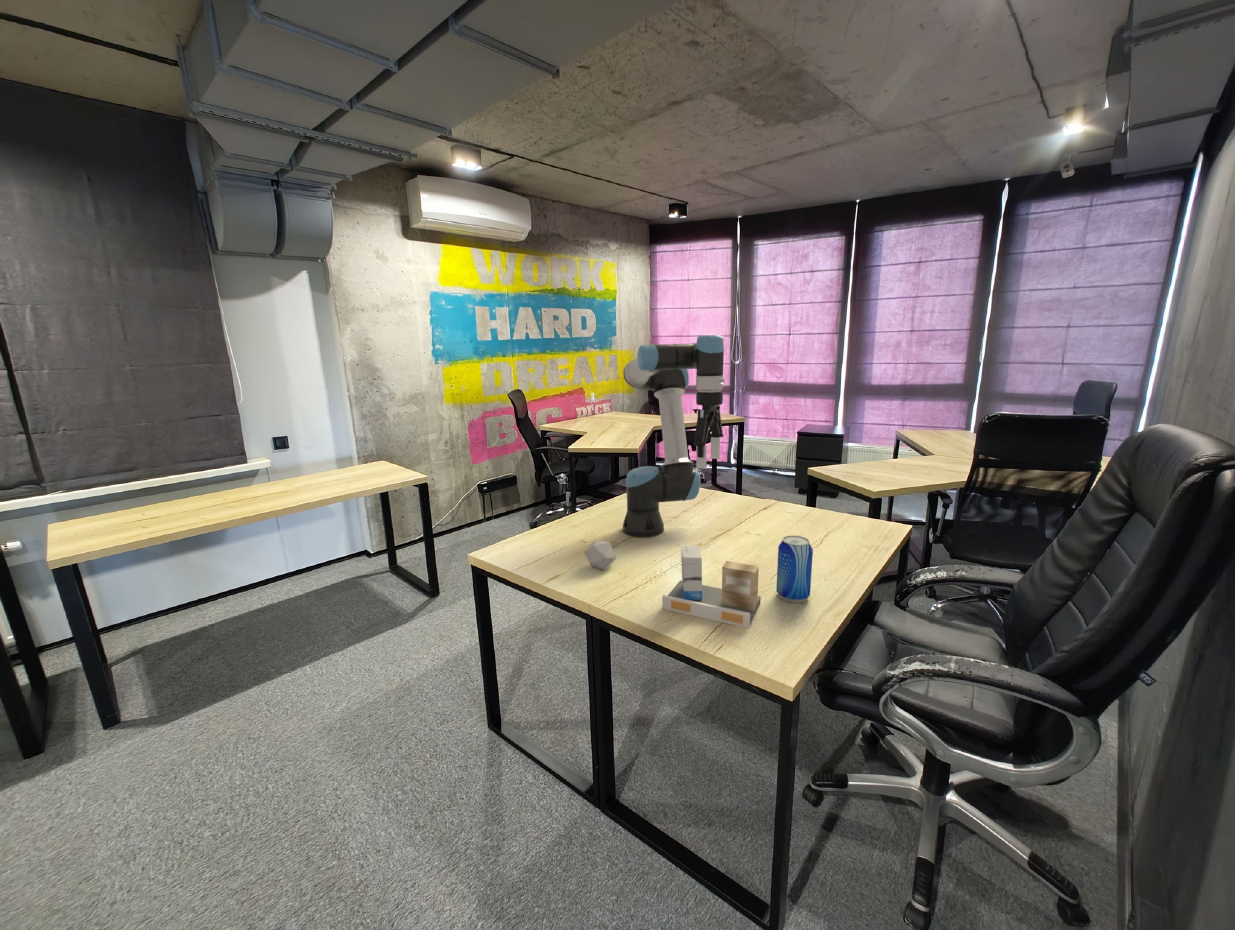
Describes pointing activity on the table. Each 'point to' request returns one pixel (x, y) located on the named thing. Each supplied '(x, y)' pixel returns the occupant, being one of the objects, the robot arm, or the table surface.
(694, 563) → the ink box
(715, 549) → the table surface
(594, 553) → the die
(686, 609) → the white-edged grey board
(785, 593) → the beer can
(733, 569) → the brown cardboard box
